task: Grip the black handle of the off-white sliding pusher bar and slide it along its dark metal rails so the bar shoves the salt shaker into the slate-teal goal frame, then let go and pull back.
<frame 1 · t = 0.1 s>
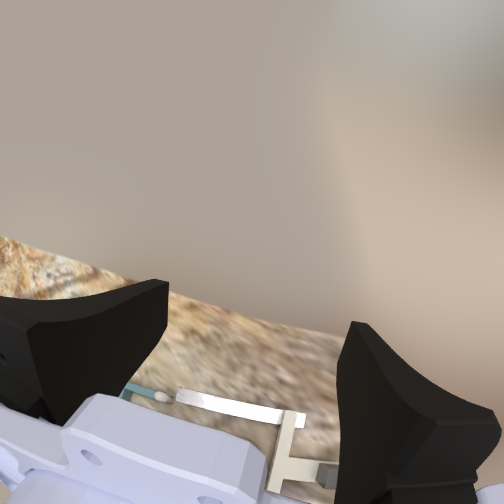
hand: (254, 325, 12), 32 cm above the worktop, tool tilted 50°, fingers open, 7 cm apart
goal frame: (139, 429, 37), on the worktop
pusher bar: (308, 472, 31), point 4 cm above the worktop, slide at 0.0 cm
rails: (229, 455, 35), on the worktop
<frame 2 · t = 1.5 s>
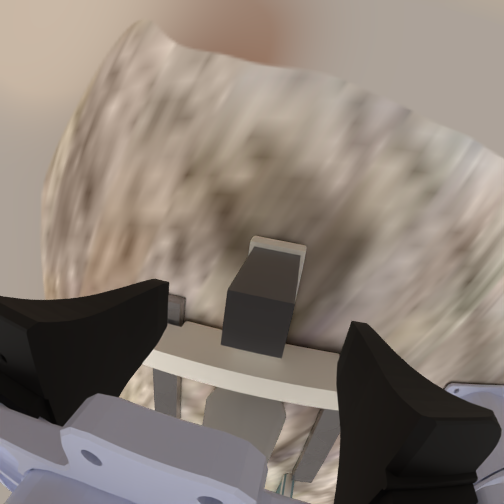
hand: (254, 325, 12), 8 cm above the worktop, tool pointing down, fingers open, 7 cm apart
salt shaker: (251, 391, 23), on the worktop
pusher bar: (259, 334, 17), point 4 cm above the worktop, slide at 0.0 cm
rails: (247, 406, 24), on the worktop
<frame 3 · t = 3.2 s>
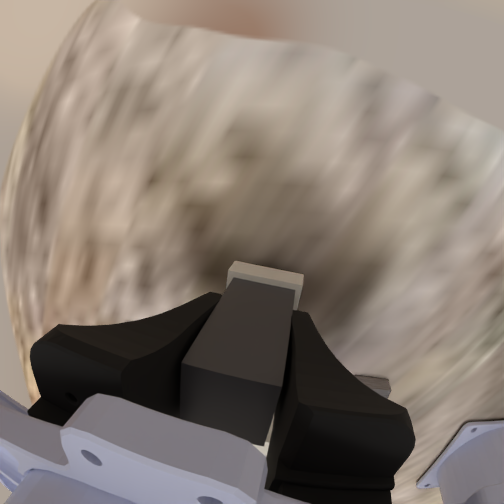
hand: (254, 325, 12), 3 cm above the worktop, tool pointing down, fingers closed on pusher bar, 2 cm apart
pusher bar: (240, 390, 12), point 4 cm above the worktop, slide at 0.0 cm, touching gripper
rails: (234, 448, 19), on the worktop
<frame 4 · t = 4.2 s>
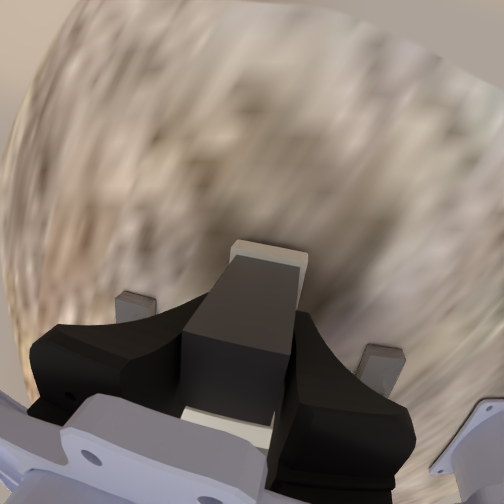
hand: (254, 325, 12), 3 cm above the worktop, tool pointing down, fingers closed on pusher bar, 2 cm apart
pusher bar: (243, 373, 12), point 4 cm above the worktop, slide at 1.1 cm, touching gripper, salt shaker
rails: (238, 431, 19), on the worktop
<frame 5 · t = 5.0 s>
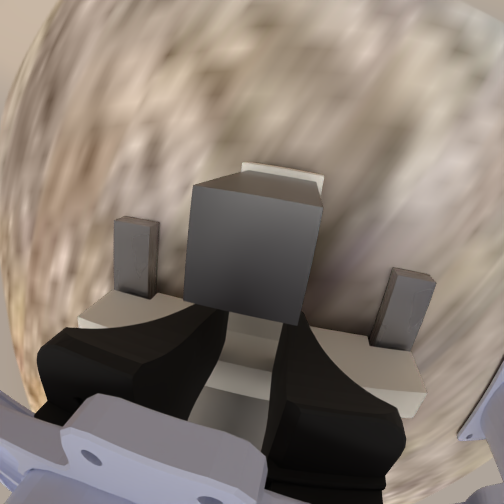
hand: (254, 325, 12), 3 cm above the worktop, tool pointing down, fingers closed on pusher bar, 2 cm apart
salt shaker: (249, 377, 17), on the worktop
pusher bar: (256, 299, 11), point 4 cm above the worktop, slide at 2.0 cm, touching gripper
rails: (247, 386, 17), on the worktop
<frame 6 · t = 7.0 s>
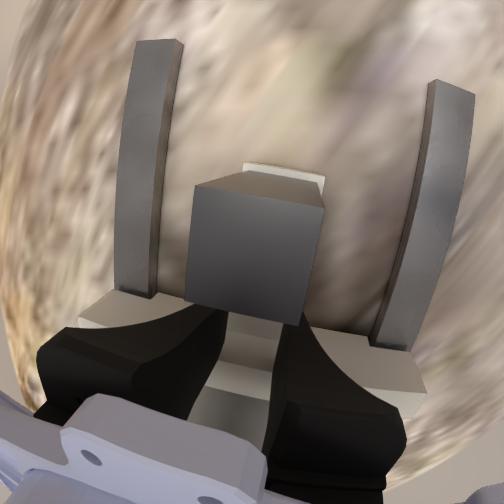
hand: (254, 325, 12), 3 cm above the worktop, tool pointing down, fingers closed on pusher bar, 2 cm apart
salt shaker: (249, 377, 17), on the worktop, touching pusher bar
pusher bar: (257, 299, 11), point 4 cm above the worktop, slide at 10.7 cm, touching gripper, salt shaker
rails: (275, 240, 14), on the worktop
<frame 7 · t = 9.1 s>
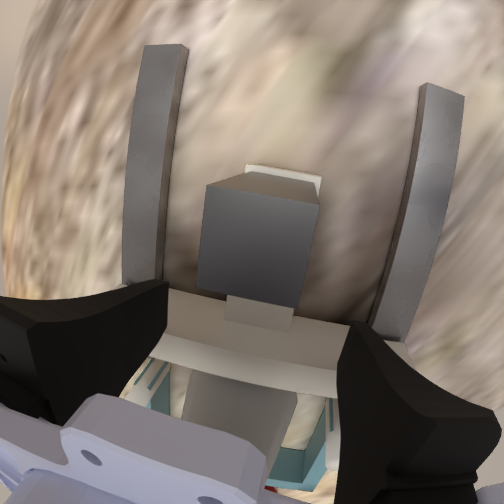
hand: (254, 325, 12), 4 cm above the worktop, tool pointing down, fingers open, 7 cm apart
goal frame: (240, 417, 19), on the worktop
salt shaker: (250, 368, 18), on the worktop
pusher bar: (259, 290, 12), point 4 cm above the worktop, slide at 10.8 cm
rails: (275, 234, 15), on the worktop
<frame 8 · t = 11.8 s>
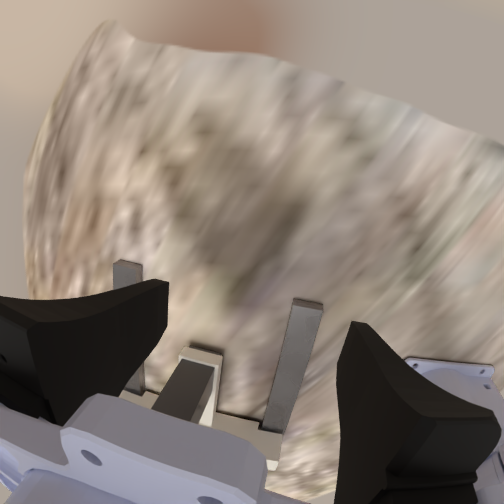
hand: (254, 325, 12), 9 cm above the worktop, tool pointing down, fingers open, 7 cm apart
pusher bar: (187, 417, 21), point 4 cm above the worktop, slide at 10.8 cm
rails: (204, 374, 25), on the worktop
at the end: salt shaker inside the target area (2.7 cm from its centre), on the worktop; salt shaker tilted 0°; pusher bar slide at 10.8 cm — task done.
